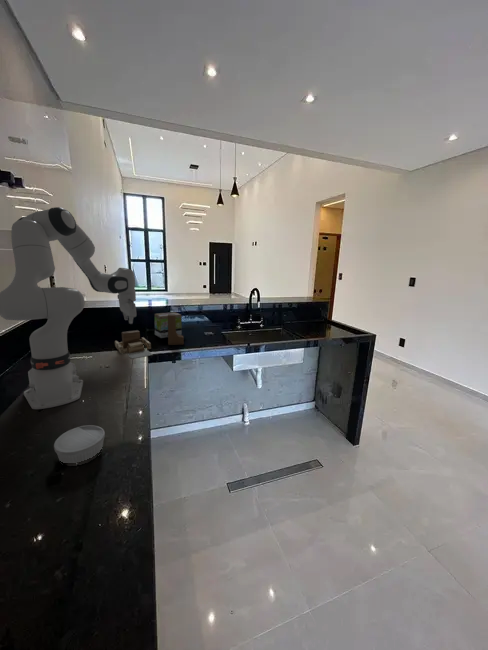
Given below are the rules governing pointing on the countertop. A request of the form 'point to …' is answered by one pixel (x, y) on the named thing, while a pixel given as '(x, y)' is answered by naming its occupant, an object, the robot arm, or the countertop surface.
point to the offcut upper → (135, 344)
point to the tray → (124, 350)
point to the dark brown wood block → (130, 337)
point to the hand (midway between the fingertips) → (128, 321)
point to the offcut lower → (135, 349)
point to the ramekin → (79, 443)
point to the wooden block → (173, 332)
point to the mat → (139, 354)
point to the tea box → (166, 324)
